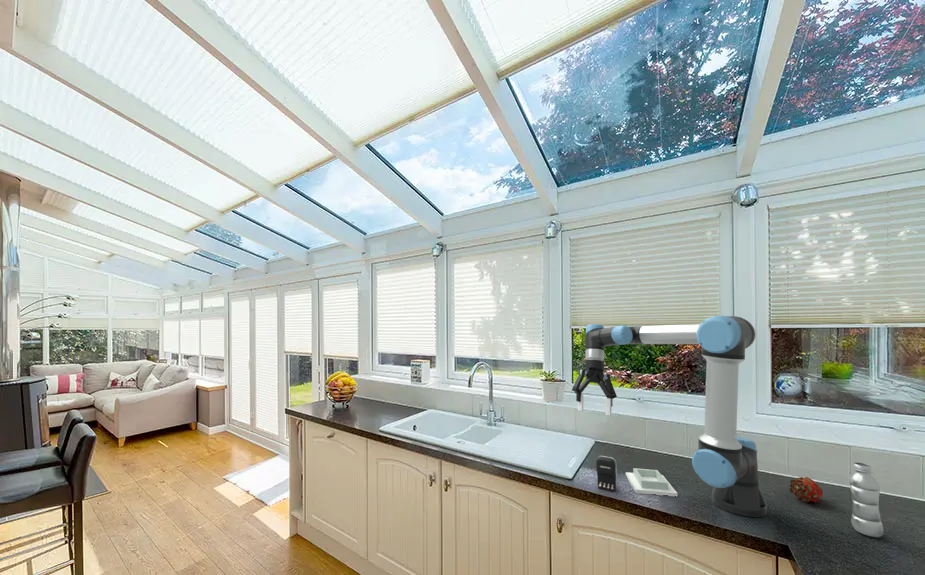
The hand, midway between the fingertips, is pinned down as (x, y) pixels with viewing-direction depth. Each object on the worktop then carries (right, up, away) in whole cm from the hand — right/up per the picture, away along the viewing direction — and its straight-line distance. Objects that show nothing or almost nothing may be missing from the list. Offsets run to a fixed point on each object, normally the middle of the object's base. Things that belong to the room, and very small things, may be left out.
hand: (594, 412), depth 151 cm
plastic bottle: (+67, -23, -40) cm, 81 cm away
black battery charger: (0, -25, -12) cm, 27 cm away
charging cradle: (+18, -25, -8) cm, 32 cm away
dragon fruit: (+68, -25, -19) cm, 75 cm away
